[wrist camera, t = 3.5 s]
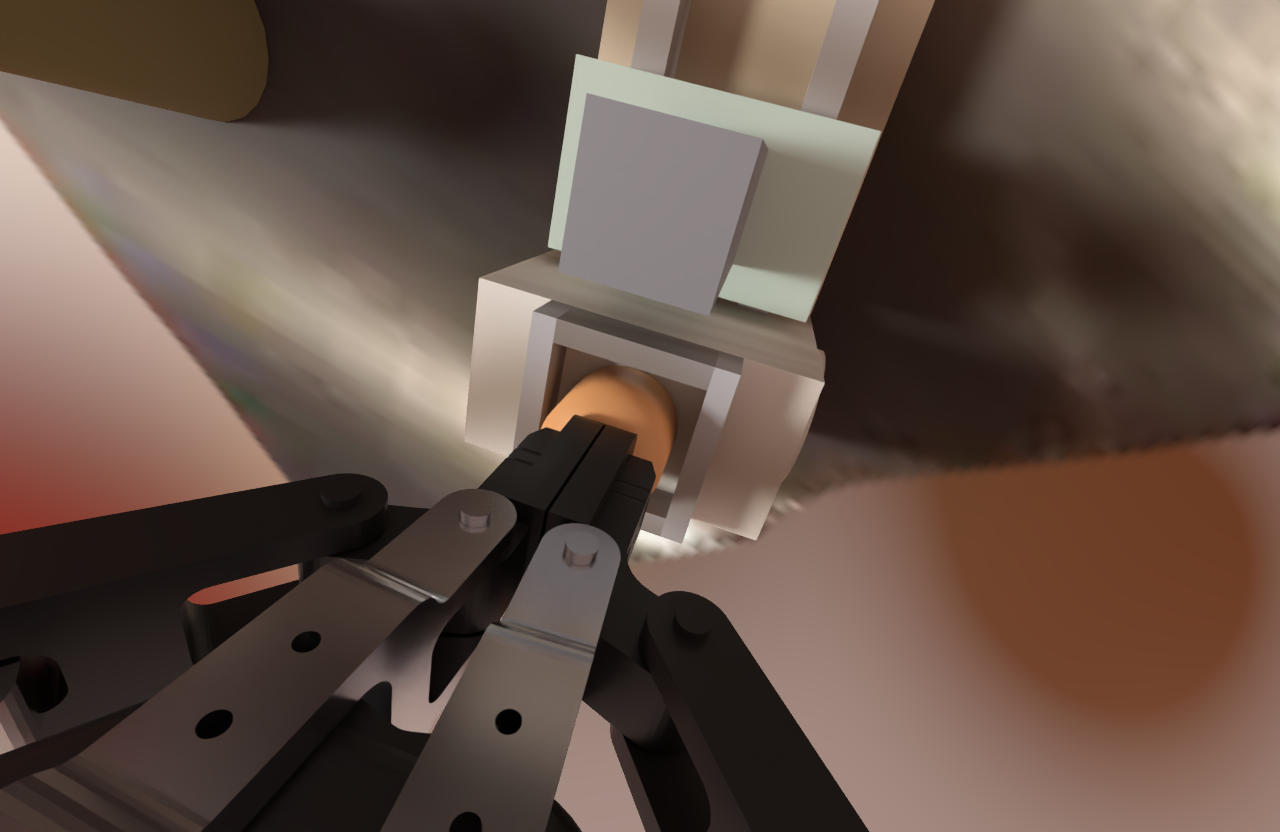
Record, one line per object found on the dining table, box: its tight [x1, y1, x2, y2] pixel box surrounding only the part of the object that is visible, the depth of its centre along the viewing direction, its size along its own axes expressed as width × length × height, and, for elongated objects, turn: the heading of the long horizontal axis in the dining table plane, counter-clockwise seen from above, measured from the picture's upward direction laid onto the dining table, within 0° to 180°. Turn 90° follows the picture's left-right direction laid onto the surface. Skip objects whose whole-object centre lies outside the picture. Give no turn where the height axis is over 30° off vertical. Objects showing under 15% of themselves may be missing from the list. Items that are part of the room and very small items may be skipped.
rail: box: [464, 0, 935, 544], centre depth 13 cm, size 25×10×9 cm, turn 166°
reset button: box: [541, 366, 678, 494], centre depth 13 cm, size 3×3×2 cm
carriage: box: [548, 54, 881, 323], centre depth 13 cm, size 5×8×8 cm, turn 76°
